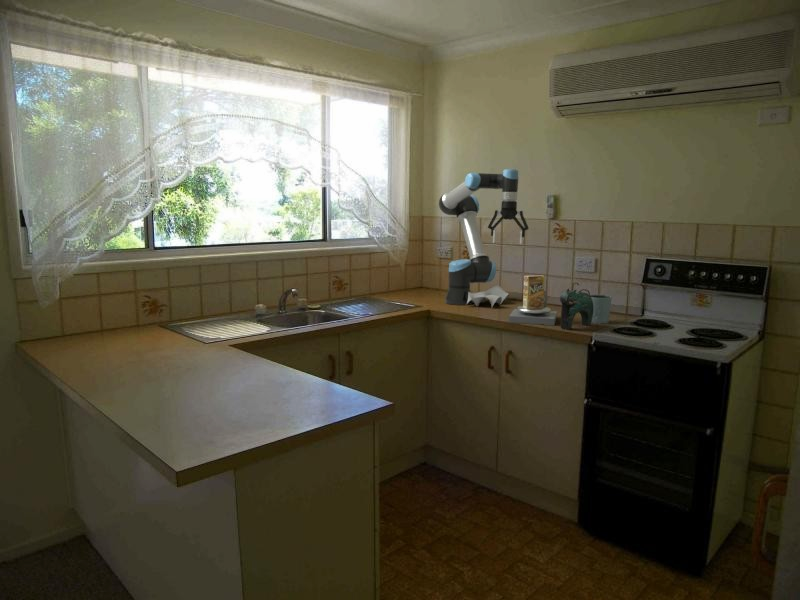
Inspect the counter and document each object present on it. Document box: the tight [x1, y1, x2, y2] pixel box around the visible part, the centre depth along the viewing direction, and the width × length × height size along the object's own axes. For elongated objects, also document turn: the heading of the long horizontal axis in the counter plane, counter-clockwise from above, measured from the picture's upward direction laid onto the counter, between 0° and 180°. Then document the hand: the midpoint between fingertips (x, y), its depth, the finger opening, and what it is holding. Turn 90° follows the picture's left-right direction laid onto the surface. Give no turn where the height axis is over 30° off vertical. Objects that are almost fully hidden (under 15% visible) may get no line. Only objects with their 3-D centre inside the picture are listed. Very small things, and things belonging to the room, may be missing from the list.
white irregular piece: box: [465, 284, 510, 308], centre depth 312 cm, size 25×19×10 cm
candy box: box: [522, 274, 546, 309], centre depth 269 cm, size 9×4×15 cm, turn 108°
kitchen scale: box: [508, 289, 558, 326], centre depth 270 cm, size 20×20×13 cm
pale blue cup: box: [590, 294, 613, 324], centre depth 267 cm, size 10×10×12 cm
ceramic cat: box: [559, 282, 594, 331], centre depth 254 cm, size 20×6×20 cm, turn 126°
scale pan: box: [516, 305, 552, 314], centre depth 270 cm, size 15×15×2 cm
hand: (507, 243), depth 294 cm, fingers open, 13 cm apart
